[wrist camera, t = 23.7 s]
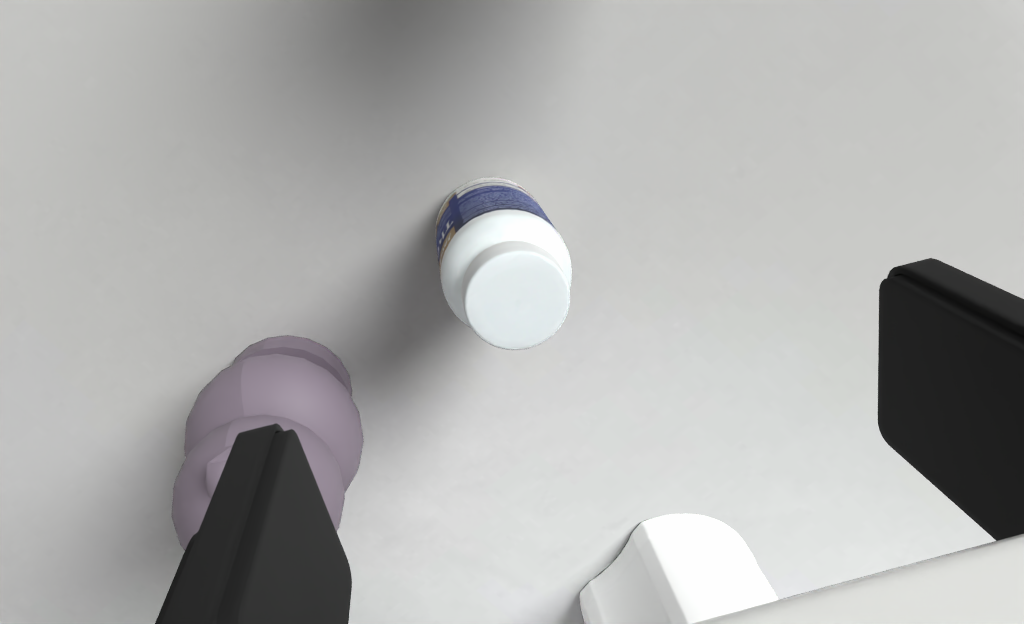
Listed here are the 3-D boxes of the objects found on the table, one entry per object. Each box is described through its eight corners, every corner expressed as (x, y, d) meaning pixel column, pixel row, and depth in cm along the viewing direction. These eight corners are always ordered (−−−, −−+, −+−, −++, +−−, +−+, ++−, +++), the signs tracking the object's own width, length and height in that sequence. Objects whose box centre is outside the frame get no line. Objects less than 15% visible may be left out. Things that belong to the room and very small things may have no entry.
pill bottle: (422, 188, 33) (429, 251, 25) (531, 164, 34) (577, 217, 25) (448, 290, 36) (462, 382, 27) (550, 267, 36) (598, 349, 27)
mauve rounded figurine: (367, 460, 39) (352, 635, 28) (217, 461, 38) (140, 645, 27) (369, 319, 36) (353, 453, 25) (205, 315, 34) (112, 455, 23)
